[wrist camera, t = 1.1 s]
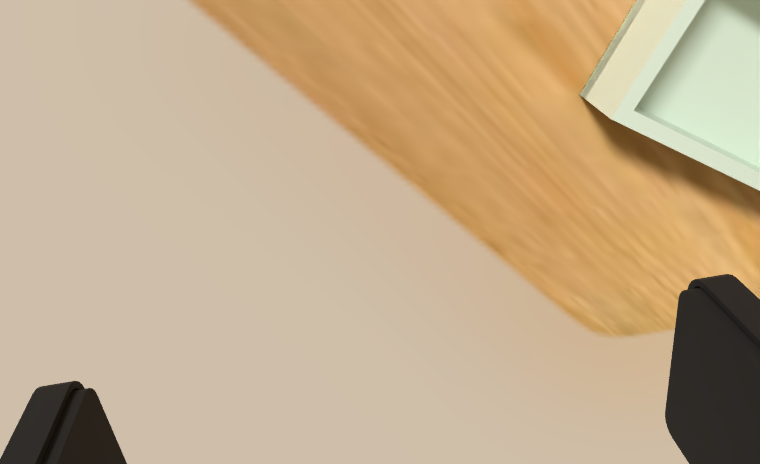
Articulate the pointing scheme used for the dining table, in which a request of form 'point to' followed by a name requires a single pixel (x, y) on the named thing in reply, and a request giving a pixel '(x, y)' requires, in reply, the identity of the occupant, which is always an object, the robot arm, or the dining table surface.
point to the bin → (688, 80)
